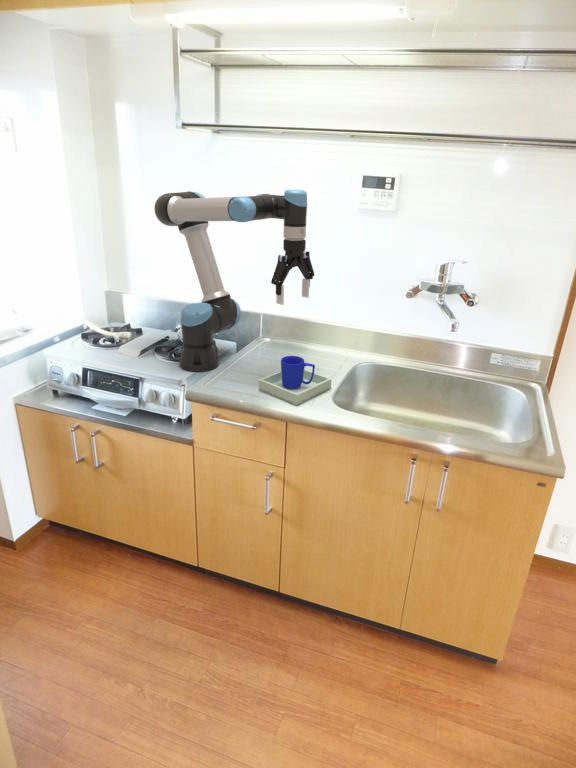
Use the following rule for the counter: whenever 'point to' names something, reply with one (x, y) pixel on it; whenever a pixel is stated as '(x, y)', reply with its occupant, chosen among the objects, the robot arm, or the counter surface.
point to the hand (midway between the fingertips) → (292, 300)
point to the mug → (294, 371)
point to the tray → (298, 395)
